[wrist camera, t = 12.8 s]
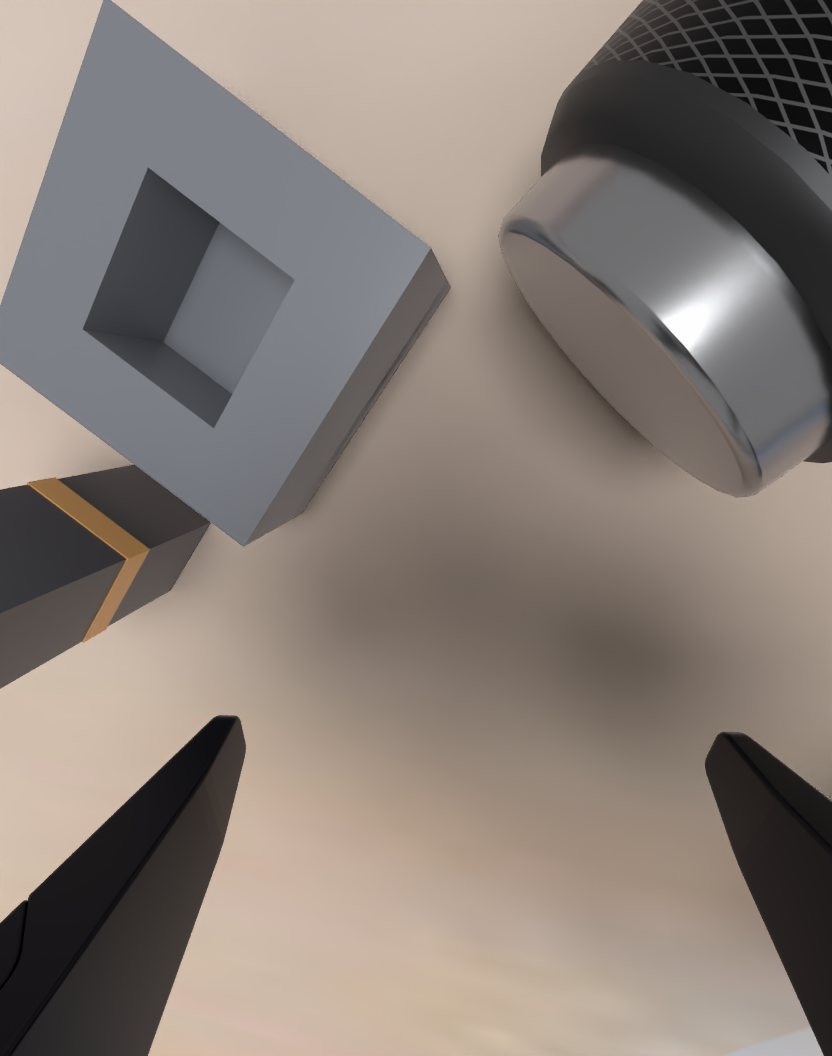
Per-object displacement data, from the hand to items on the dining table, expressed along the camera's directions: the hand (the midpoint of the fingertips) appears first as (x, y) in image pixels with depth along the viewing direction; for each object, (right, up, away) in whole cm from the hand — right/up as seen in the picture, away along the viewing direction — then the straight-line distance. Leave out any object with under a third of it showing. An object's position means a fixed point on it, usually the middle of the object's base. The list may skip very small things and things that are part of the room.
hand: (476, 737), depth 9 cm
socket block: (-7, +11, +9) cm, 16 cm away
